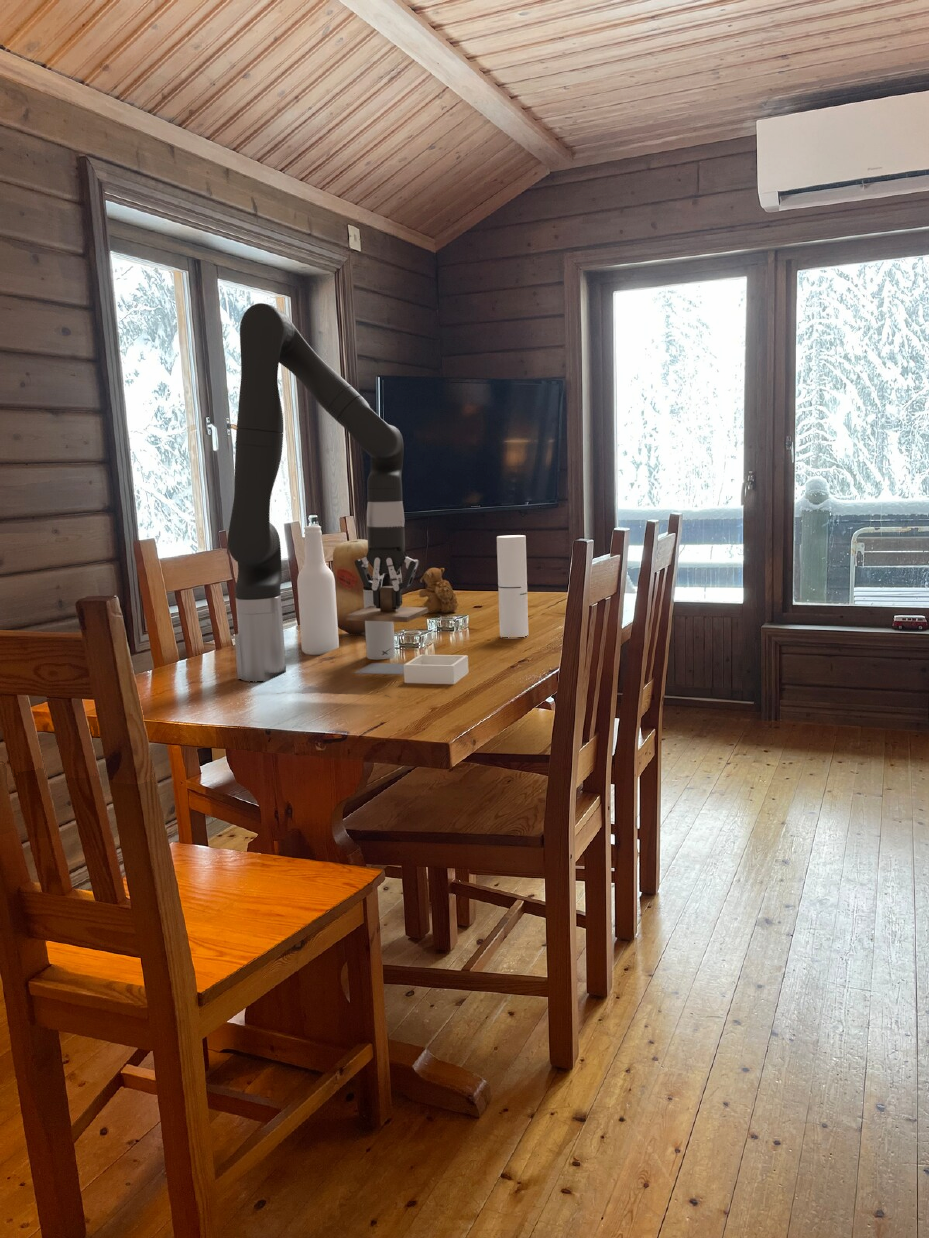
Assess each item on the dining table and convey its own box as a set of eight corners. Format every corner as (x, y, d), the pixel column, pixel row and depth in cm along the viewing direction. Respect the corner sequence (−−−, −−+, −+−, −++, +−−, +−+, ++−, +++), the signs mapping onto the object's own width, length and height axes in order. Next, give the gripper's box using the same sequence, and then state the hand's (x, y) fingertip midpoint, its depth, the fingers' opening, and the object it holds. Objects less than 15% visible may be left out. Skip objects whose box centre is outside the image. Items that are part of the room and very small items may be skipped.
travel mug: (392, 666, 202) (387, 574, 199) (363, 665, 203) (358, 575, 200) (400, 660, 208) (395, 571, 205) (372, 660, 209) (367, 572, 206)
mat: (354, 680, 190) (354, 673, 189) (372, 669, 199) (372, 662, 199) (414, 681, 186) (414, 674, 186) (430, 671, 195) (429, 664, 195)
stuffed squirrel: (439, 607, 286) (438, 565, 284) (468, 612, 275) (466, 568, 273) (413, 611, 280) (411, 568, 278) (441, 616, 269) (439, 571, 267)
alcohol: (295, 652, 222) (286, 527, 217) (326, 646, 228) (318, 524, 223) (314, 656, 216) (306, 527, 211) (346, 651, 221) (338, 525, 217)
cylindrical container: (496, 634, 235) (492, 536, 231) (522, 632, 237) (519, 534, 233) (505, 639, 228) (502, 538, 224) (532, 636, 230) (529, 536, 226)
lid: (346, 620, 186) (345, 590, 185) (370, 610, 198) (369, 582, 197) (407, 622, 182) (406, 592, 182) (428, 612, 195) (427, 584, 194)
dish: (405, 690, 179) (403, 664, 178) (421, 678, 189) (420, 654, 188) (454, 691, 176) (453, 665, 176) (468, 679, 186) (467, 655, 185)
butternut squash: (323, 639, 239) (317, 542, 235) (349, 630, 251) (343, 537, 247) (370, 640, 234) (365, 541, 230) (395, 631, 246) (390, 537, 242)
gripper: (346, 525, 186) (349, 610, 189) (412, 525, 182) (414, 612, 185) (360, 523, 193) (363, 604, 196) (424, 523, 189) (426, 606, 192)
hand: (388, 607), depth 190 cm, fingers closed on lid, 3 cm apart
